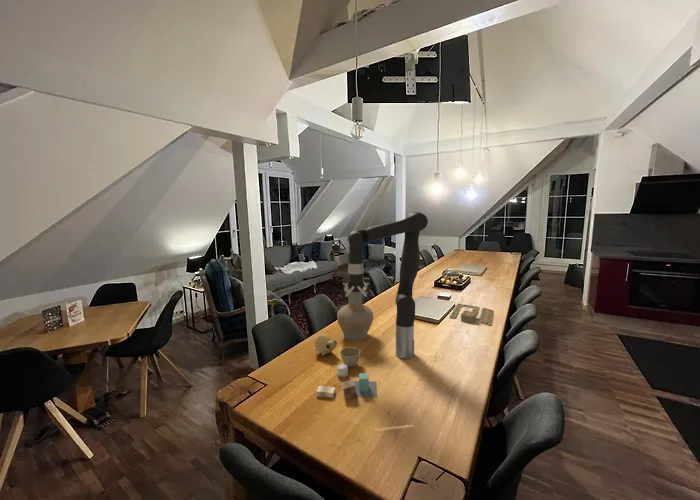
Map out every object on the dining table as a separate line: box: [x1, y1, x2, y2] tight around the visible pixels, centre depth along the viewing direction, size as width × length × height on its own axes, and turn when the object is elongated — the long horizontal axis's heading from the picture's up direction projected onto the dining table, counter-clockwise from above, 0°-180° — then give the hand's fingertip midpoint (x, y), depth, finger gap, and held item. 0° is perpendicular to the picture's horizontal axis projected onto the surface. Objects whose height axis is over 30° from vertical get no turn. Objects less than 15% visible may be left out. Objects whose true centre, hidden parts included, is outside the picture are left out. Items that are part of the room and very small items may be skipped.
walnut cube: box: [341, 378, 358, 400], centre depth 125 cm, size 5×5×5 cm
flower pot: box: [339, 346, 361, 369], centre depth 149 cm, size 10×10×7 cm
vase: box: [336, 286, 374, 342], centre depth 179 cm, size 22×22×30 cm
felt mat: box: [354, 380, 378, 398], centre depth 129 cm, size 11×11×1 cm
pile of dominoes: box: [448, 303, 495, 327], centre depth 213 cm, size 35×27×6 cm
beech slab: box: [316, 385, 336, 399], centre depth 126 cm, size 7×4×3 cm, turn 79°
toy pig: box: [314, 333, 338, 357], centre depth 160 cm, size 10×12×11 cm
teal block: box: [358, 373, 370, 392], centre depth 128 cm, size 4×4×6 cm
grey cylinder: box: [336, 363, 349, 378], centre depth 140 cm, size 5×5×4 cm
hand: (356, 303), depth 150 cm, fingers open, 8 cm apart
